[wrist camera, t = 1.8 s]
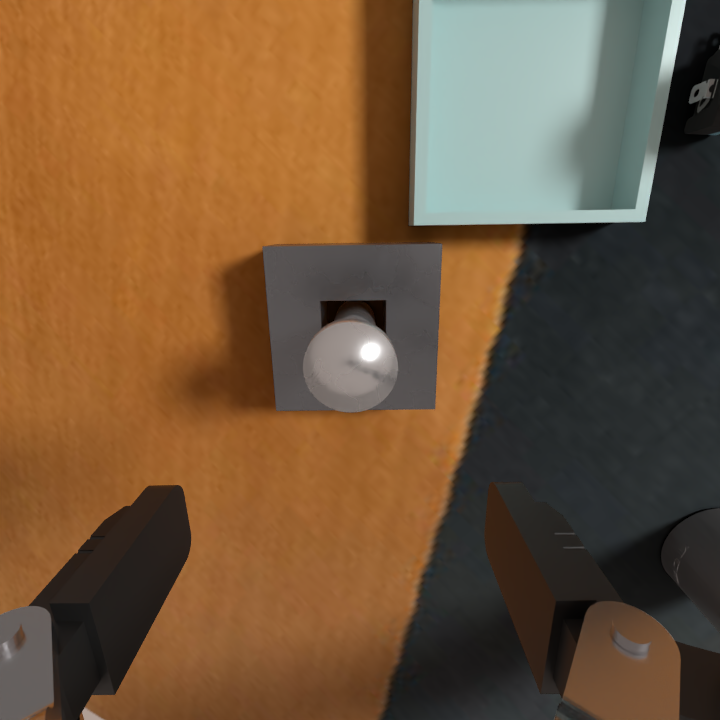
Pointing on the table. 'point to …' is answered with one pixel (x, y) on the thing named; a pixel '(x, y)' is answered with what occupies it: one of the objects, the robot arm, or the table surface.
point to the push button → (706, 101)
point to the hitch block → (355, 282)
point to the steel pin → (351, 361)
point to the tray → (538, 109)
